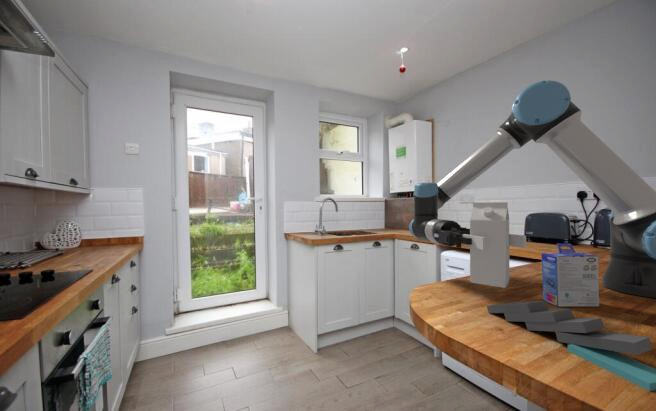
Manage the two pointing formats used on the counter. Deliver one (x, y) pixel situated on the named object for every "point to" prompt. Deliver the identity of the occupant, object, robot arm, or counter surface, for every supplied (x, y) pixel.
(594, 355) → the domino
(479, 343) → the counter surface
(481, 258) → the milk carton
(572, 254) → the ink cartridge box
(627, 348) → the domino
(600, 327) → the domino
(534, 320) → the domino
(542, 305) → the domino
